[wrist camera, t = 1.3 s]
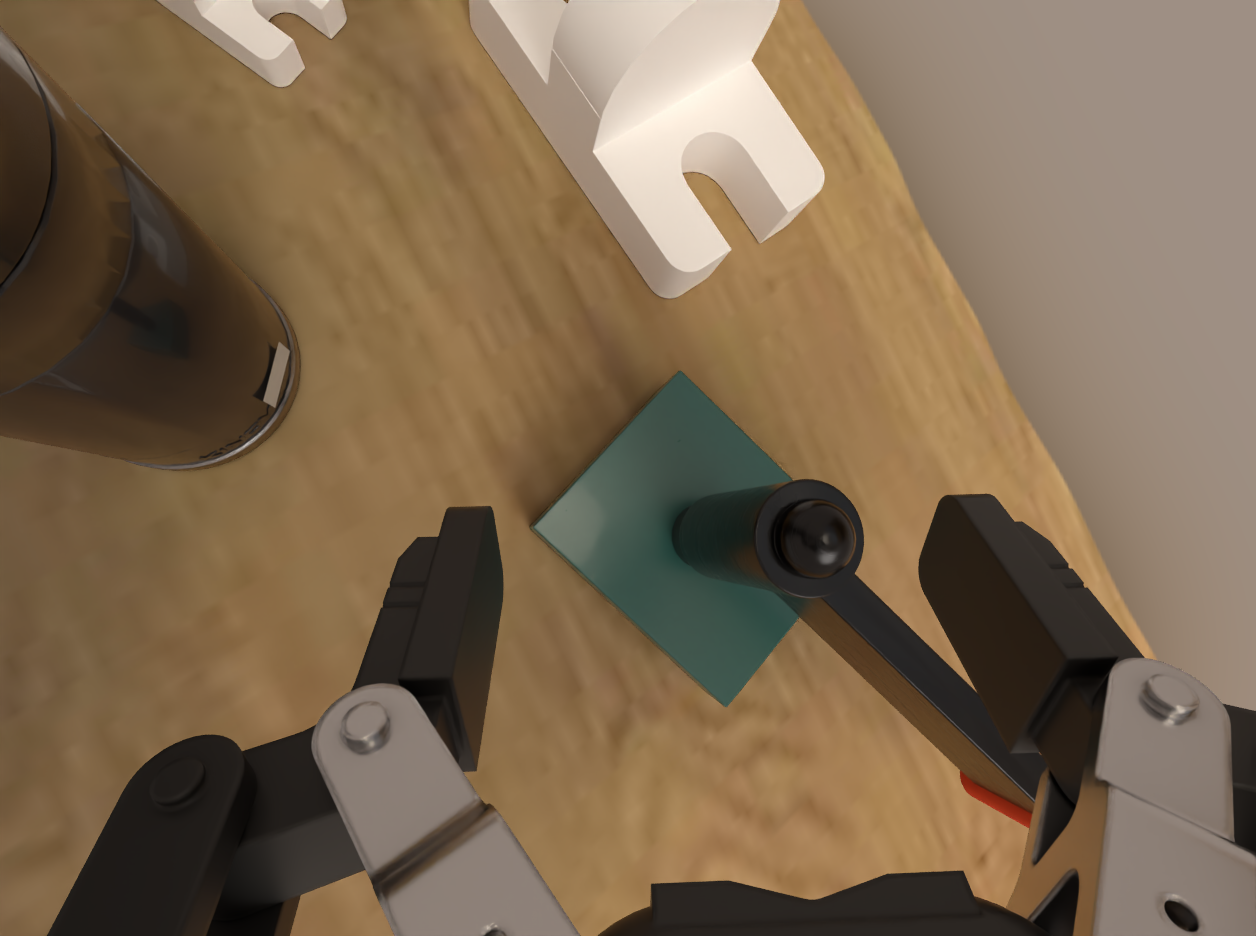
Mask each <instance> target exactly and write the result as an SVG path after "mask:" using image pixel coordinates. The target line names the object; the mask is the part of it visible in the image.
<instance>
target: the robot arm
mask: <svg viewBox="0 0 1256 936" xmlns="http://www.w3.org/2000/svg"><path fill="white" fill-rule="evenodd" d="M299 378H300V354H299V347H298V343H297V340H296V336H295V334H294V331H293V329H292V326H291V325H290V323H289V321H288V319H287V317H286V316H285V314H284V313H283V311H282V310H281V308H280V307H279V306H278V305H277V303H276V302H275V301H274V300H273V299H272V298H271V297H270V296H269V295H268V294H267V293H266V292H265V291H264V290H263V289H262V288H261V287H260V286H259V285H258V284H256V283H255V282H254V281H253V280H251V279H250V278H249V277H247V276H246V275H245V274H244V272H243V271H242V270H241V269H240V268H239V267H238V266H237V265H236V264H235V263H234V262H233V261H232V260H231V259H230V258H229V257H228V256H227V255H226V254H225V253H224V252H223V251H222V250H221V249H220V248H219V247H218V246H217V245H216V244H215V243H214V242H213V241H212V240H211V239H210V238H209V237H208V236H207V235H206V234H205V233H204V232H203V231H202V230H201V229H200V227H199V226H198V225H197V224H196V223H195V222H194V221H193V220H192V219H191V218H190V217H189V216H188V215H187V214H186V213H185V212H184V211H183V210H182V209H181V208H180V207H179V206H178V205H177V204H176V203H175V202H174V201H173V200H172V199H171V198H170V197H169V196H168V195H167V194H166V193H165V192H164V191H163V190H162V189H161V188H160V187H159V186H158V185H157V184H156V183H155V182H154V181H153V180H152V179H151V178H150V177H149V176H148V175H147V174H146V173H145V172H144V171H143V169H142V168H141V167H140V166H139V165H138V164H137V163H136V162H135V161H134V160H133V159H132V158H131V157H130V156H129V155H128V154H127V153H126V152H125V151H124V150H123V149H122V148H121V147H120V146H119V145H118V144H117V143H116V142H115V141H114V140H113V139H112V138H111V137H110V136H109V135H108V134H107V133H106V132H105V131H104V130H103V129H102V128H101V127H100V126H99V125H98V124H97V123H96V122H95V121H94V120H93V119H92V118H91V117H90V116H89V115H88V114H87V113H86V111H85V110H84V109H83V108H82V107H81V106H80V105H79V104H77V103H76V102H75V101H74V100H73V99H72V98H71V97H70V96H69V95H68V94H67V93H66V92H65V91H64V90H63V89H62V88H61V87H60V86H59V85H58V84H57V83H56V82H55V81H54V80H53V79H52V78H51V77H50V76H49V75H48V74H47V73H46V72H45V71H44V70H43V69H42V68H41V67H40V66H39V65H38V64H37V63H36V62H35V61H34V60H33V59H32V58H31V57H30V56H29V55H28V53H27V52H26V51H25V50H24V49H23V48H22V47H21V46H20V45H19V44H18V43H17V42H16V41H15V40H14V39H13V38H12V37H11V36H10V35H9V34H8V33H7V32H6V31H5V30H4V29H3V28H2V27H1V26H0V436H4V437H9V438H14V439H20V440H25V441H30V442H35V443H40V444H45V445H51V446H56V447H61V448H66V449H71V450H77V451H82V452H87V453H92V454H97V455H102V456H106V457H112V458H117V459H122V460H125V461H127V462H130V463H134V464H137V465H141V466H146V467H151V468H157V469H163V470H172V471H191V470H200V469H207V468H211V467H215V466H219V465H222V464H225V463H228V462H231V461H233V460H235V459H237V458H240V457H242V456H243V455H245V454H247V453H249V452H250V451H252V450H253V449H255V448H256V447H258V446H259V445H260V444H262V443H263V442H264V441H265V440H266V439H267V438H268V437H269V436H270V435H271V434H272V433H273V432H274V431H275V430H276V429H277V428H278V426H279V425H280V424H281V423H282V421H283V420H284V418H285V417H286V415H287V413H288V412H289V410H290V408H291V406H292V403H293V401H294V398H295V396H296V392H297V389H298V385H299ZM918 569H919V579H920V584H921V587H922V590H923V592H924V594H925V596H926V598H927V599H928V601H929V603H930V605H931V607H932V609H933V611H934V613H935V614H936V616H937V618H938V620H939V622H940V624H941V626H942V627H943V629H944V631H945V633H946V635H947V637H948V639H949V641H950V642H951V644H952V646H953V648H954V650H955V652H956V654H957V655H958V657H959V659H960V661H961V663H962V665H963V667H964V669H965V670H966V672H967V674H968V676H969V678H970V680H971V682H972V684H973V685H974V687H975V689H976V691H977V693H978V695H979V697H980V698H981V700H982V702H983V704H984V706H985V708H986V710H987V712H988V713H989V715H990V717H991V719H992V721H993V723H994V725H995V726H996V728H997V730H998V732H999V734H1000V736H1001V738H1002V740H1003V741H1004V743H1005V745H1006V747H1007V749H1008V751H1009V753H1010V754H1011V753H1038V752H1040V753H1041V755H1042V757H1043V759H1044V760H1045V762H1046V764H1047V766H1046V768H1045V769H1044V771H1043V772H1042V774H1041V777H1040V780H1039V785H1038V790H1037V795H1036V799H1035V804H1034V809H1033V814H1032V818H1031V823H1030V828H1029V833H1028V837H1027V842H1026V847H1025V852H1024V856H1023V861H1022V866H1021V870H1020V874H1019V878H1018V881H1017V884H1016V886H1015V889H1014V891H1013V893H1012V895H1011V898H1010V900H1009V902H1008V904H1007V906H1006V908H1004V907H1002V906H1000V905H998V904H995V903H992V902H989V901H987V900H984V899H981V898H979V897H975V896H974V895H973V893H972V891H971V888H970V886H969V883H968V881H967V878H966V876H965V874H964V871H944V872H920V873H896V874H886V875H883V876H880V877H878V878H875V879H872V880H869V881H867V882H864V883H861V884H859V885H856V886H853V887H851V888H848V889H845V890H842V891H840V892H837V893H834V894H832V895H829V896H826V897H824V898H821V899H817V900H808V899H803V898H799V897H794V896H790V895H786V894H782V893H778V892H774V891H770V890H765V889H761V888H757V887H753V886H749V885H745V884H741V883H736V882H732V881H707V882H683V883H660V884H651V900H650V906H649V907H647V908H644V909H641V910H639V911H636V912H634V913H632V914H630V915H628V916H626V917H624V918H622V919H621V920H619V921H617V922H615V923H614V924H612V925H611V926H610V927H608V928H607V929H606V930H604V931H603V932H602V933H600V934H599V935H598V936H1256V711H1252V710H1248V709H1244V708H1239V707H1235V706H1230V705H1226V704H1222V702H1221V701H1220V700H1219V699H1218V698H1217V696H1216V695H1215V694H1214V693H1213V692H1212V691H1211V690H1210V689H1209V688H1208V687H1206V686H1205V685H1204V684H1203V683H1201V682H1200V681H1199V680H1197V679H1196V678H1194V677H1193V676H1191V675H1190V674H1188V673H1186V672H1184V671H1182V670H1181V669H1178V668H1176V667H1174V666H1172V665H1169V664H1166V663H1164V662H1161V661H1157V660H1153V659H1147V658H1144V656H1143V655H1142V654H1141V653H1140V651H1139V650H1138V649H1137V648H1136V647H1135V645H1134V644H1133V643H1132V642H1131V640H1130V639H1129V638H1128V637H1127V635H1126V634H1125V633H1124V632H1123V631H1122V629H1121V628H1120V627H1119V626H1118V624H1117V623H1116V622H1115V621H1114V619H1113V618H1112V617H1111V616H1110V614H1109V613H1108V612H1107V611H1106V610H1105V608H1104V607H1103V606H1102V605H1101V603H1100V602H1099V601H1098V600H1097V598H1096V597H1095V596H1094V595H1093V594H1092V592H1091V591H1090V590H1089V589H1088V588H1084V586H1083V584H1084V582H1083V581H1082V580H1081V579H1080V578H1079V576H1078V575H1077V574H1076V573H1075V571H1074V570H1073V569H1069V567H1068V563H1067V562H1066V560H1065V559H1064V558H1063V557H1062V555H1061V554H1060V553H1059V552H1058V550H1057V549H1056V548H1055V547H1054V545H1053V544H1052V543H1051V542H1050V541H1049V540H1048V539H1046V538H1045V537H1043V536H1042V535H1041V534H1039V533H1038V532H1036V531H1035V530H1033V529H1032V528H1031V527H1029V526H1028V525H1026V524H1025V523H1024V522H1014V520H1013V519H1012V518H1011V516H1010V515H1009V514H1008V513H1007V511H1006V510H1005V509H1004V507H1003V506H1002V505H1001V504H1000V502H999V501H998V500H997V499H996V498H995V497H994V496H993V495H990V494H965V495H946V496H944V497H943V498H942V499H941V500H940V501H939V503H938V506H937V509H936V512H935V514H934V517H933V520H932V523H931V526H930V529H929V532H928V535H927V538H926V540H925V543H924V546H923V549H922V552H921V555H920V558H919V567H918ZM502 602H503V569H502V562H501V556H500V550H499V543H498V537H497V531H496V525H495V519H494V513H493V510H492V507H491V506H475V507H449V508H448V509H447V510H446V512H445V516H444V519H443V522H442V526H441V529H440V533H439V536H438V537H417V538H416V540H415V541H414V542H413V543H412V544H411V545H410V546H409V547H408V548H407V549H406V551H405V552H404V553H403V554H402V555H401V556H400V557H399V558H398V561H397V563H396V566H395V569H394V572H393V575H392V578H391V581H390V588H388V589H387V592H386V595H385V598H384V601H383V608H381V609H380V612H379V615H378V618H377V621H376V624H375V627H374V629H373V632H372V635H371V638H370V641H369V644H368V647H367V650H366V652H365V655H364V658H363V661H362V664H361V667H360V670H359V672H358V675H357V678H356V681H355V683H354V686H353V688H352V690H351V692H349V693H347V694H345V695H344V696H342V697H341V698H339V699H338V700H337V701H336V702H334V703H333V704H332V705H331V706H330V707H329V708H328V709H327V710H326V711H325V712H324V714H323V715H322V717H321V718H320V719H319V721H318V723H317V724H316V725H315V726H313V727H311V728H309V729H307V730H305V731H303V732H300V733H297V734H295V735H292V736H289V737H285V738H282V739H279V740H276V741H273V742H270V743H267V744H264V745H261V746H257V747H254V748H251V749H248V750H245V751H241V749H240V748H239V746H238V745H237V744H236V743H235V742H234V741H232V740H231V739H229V738H226V737H224V736H219V735H201V736H195V737H192V738H188V739H185V740H182V741H180V742H178V743H175V744H173V745H171V746H170V747H168V748H166V749H164V750H163V751H161V752H160V753H158V754H157V755H155V756H154V757H153V758H151V759H150V760H149V761H148V762H147V763H145V764H144V765H143V766H142V767H141V768H140V769H139V770H138V771H137V772H136V774H135V775H134V776H133V777H132V779H131V780H130V781H129V783H128V784H127V786H126V787H125V789H124V791H123V792H122V794H121V796H120V798H119V800H118V802H117V804H116V806H115V808H114V810H113V811H112V813H111V815H110V817H109V819H108V821H107V823H106V825H105V827H104V829H103V830H102V832H101V834H100V836H99V838H98V840H97V842H96V844H95V846H94V848H93V849H92V851H91V853H90V855H89V857H88V859H87V861H86V863H85V865H84V867H83V868H82V870H81V872H80V874H79V876H78V878H77V880H76V882H75V884H74V886H73V887H72V889H71V891H70V893H69V895H68V897H67V899H66V901H65V903H64V905H63V906H62V908H61V910H60V912H59V914H58V916H57V918H56V920H55V922H54V923H53V925H52V927H51V929H50V931H49V933H48V935H47V936H290V933H291V929H292V925H293V922H294V918H295V914H296V911H297V907H298V903H299V900H300V896H301V895H302V894H304V893H307V892H310V891H312V890H315V889H317V888H320V887H322V886H325V885H328V884H330V883H333V882H335V881H338V880H340V879H343V878H345V877H348V876H351V875H353V874H356V873H358V872H361V871H363V870H366V871H367V873H368V876H369V878H370V880H371V882H372V885H373V889H374V891H375V894H376V896H377V898H378V900H379V903H380V905H381V907H382V909H383V911H384V914H385V916H386V918H387V920H388V922H389V924H390V927H391V929H392V931H393V933H394V935H395V936H580V934H579V933H578V931H577V930H576V928H575V927H574V925H573V924H572V922H571V921H570V919H569V918H568V916H567V915H566V913H565V912H564V910H563V908H562V907H561V905H560V904H559V902H558V901H557V899H556V898H555V896H554V895H553V893H552V892H551V890H550V889H549V887H548V886H547V884H546V883H545V881H544V880H543V878H542V877H541V875H540V874H539V872H538V871H537V869H536V867H535V866H534V864H533V863H532V861H531V860H530V858H529V857H528V855H527V854H526V852H525V851H524V849H523V848H522V846H521V845H520V843H519V842H518V840H517V839H516V837H515V836H514V834H513V833H512V831H511V829H510V828H509V826H508V825H507V823H506V822H505V821H504V819H503V818H502V816H501V815H500V814H499V812H498V811H497V810H496V809H495V808H494V807H493V806H492V805H491V804H487V805H486V804H485V803H484V802H483V801H482V800H481V799H480V797H479V796H478V794H477V793H476V791H475V790H474V788H473V787H472V785H471V784H470V782H469V781H468V779H467V777H466V776H465V774H464V773H463V772H470V771H477V764H478V758H479V751H480V745H481V738H482V732H483V725H484V719H485V713H486V706H487V700H488V693H489V687H490V680H491V674H492V667H493V661H494V654H495V648H496V641H497V635H498V629H499V622H500V616H501V609H502Z"/></svg>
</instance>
